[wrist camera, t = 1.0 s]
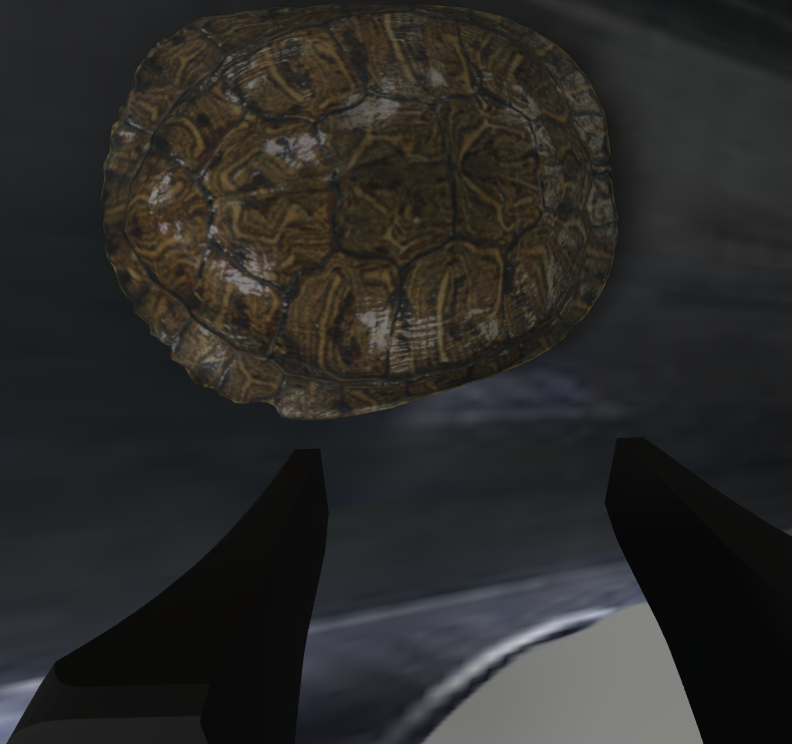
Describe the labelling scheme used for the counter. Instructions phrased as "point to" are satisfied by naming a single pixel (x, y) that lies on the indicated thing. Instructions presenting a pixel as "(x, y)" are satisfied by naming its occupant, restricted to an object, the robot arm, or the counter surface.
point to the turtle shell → (358, 202)
